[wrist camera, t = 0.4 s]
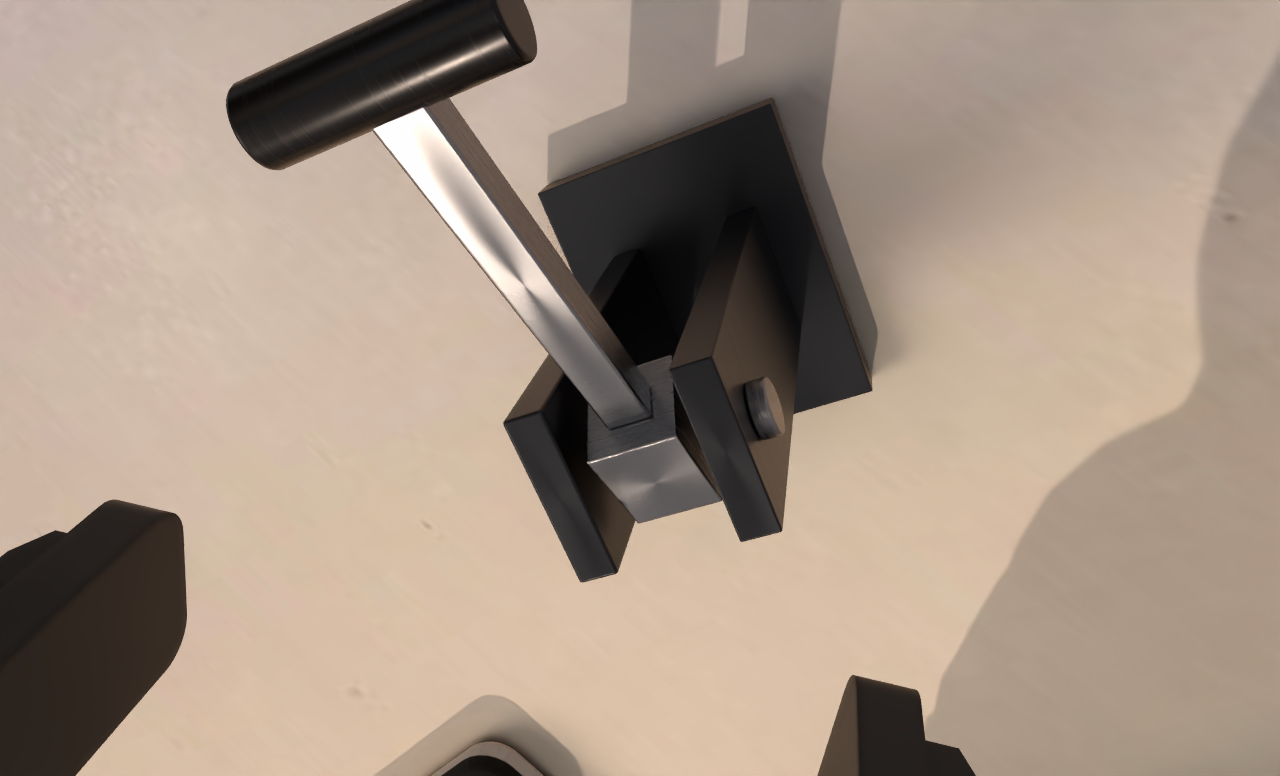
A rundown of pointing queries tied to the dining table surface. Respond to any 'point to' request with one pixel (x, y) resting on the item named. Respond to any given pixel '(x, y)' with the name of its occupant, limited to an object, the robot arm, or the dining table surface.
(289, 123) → the lever
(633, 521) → the bracket
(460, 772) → the remote control
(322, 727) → the dining table surface
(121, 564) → the robot arm
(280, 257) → the dining table surface
